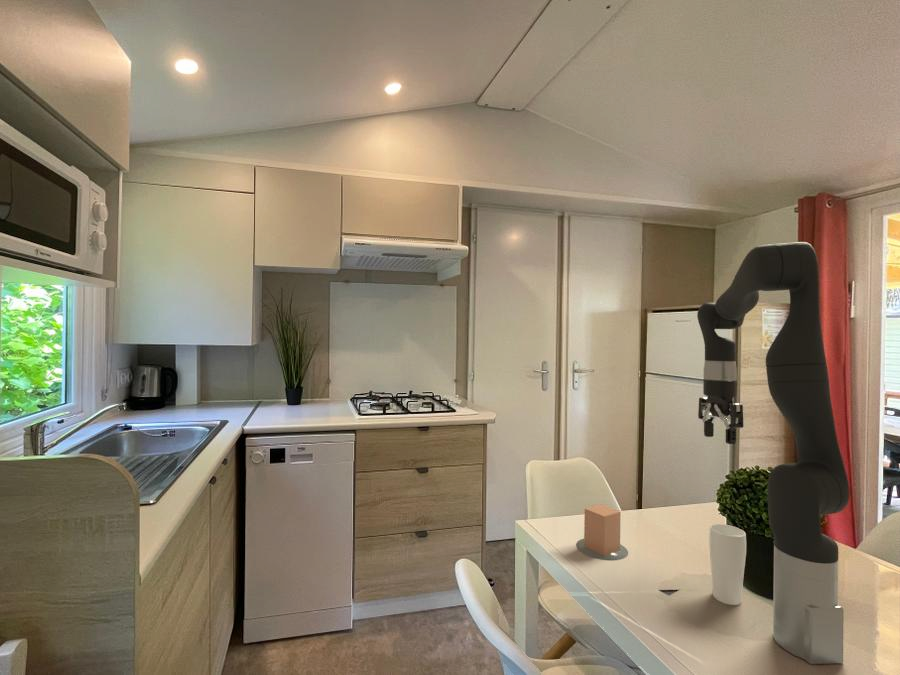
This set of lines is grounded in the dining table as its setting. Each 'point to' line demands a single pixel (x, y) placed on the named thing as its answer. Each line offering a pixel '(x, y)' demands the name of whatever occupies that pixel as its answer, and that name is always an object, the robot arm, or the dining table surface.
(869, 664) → the dining table surface
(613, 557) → the plate
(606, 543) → the orange brown block
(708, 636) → the dining table surface
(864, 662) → the dining table surface
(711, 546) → the drinking glass
